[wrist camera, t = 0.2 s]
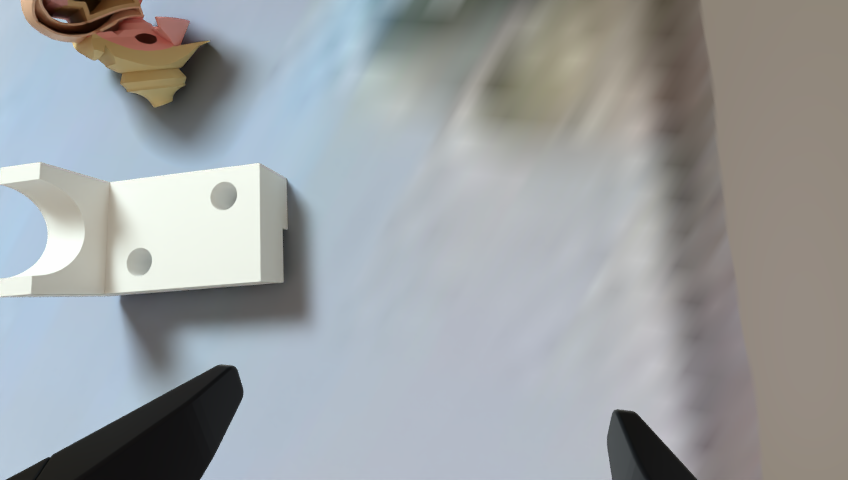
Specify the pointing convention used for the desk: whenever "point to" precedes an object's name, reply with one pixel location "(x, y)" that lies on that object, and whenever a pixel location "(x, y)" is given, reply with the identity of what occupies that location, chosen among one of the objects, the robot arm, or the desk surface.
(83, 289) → the bracket
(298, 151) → the desk surface
